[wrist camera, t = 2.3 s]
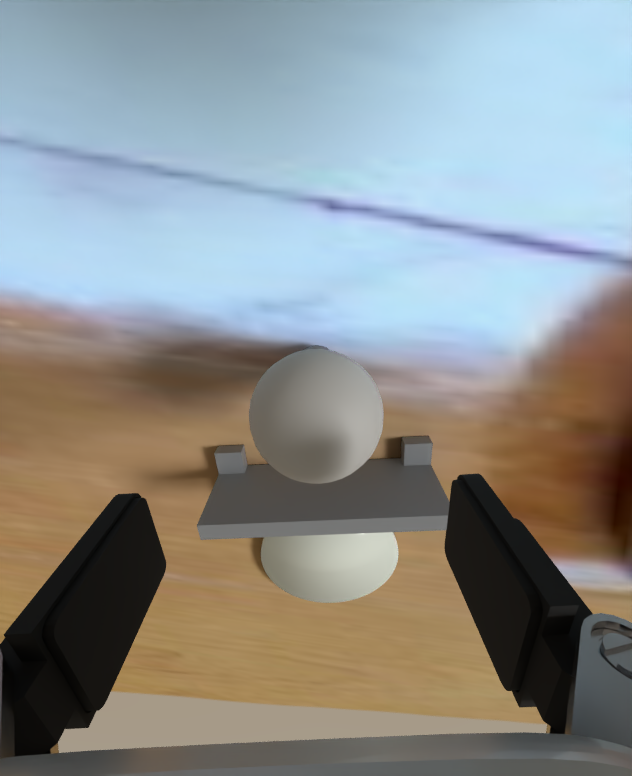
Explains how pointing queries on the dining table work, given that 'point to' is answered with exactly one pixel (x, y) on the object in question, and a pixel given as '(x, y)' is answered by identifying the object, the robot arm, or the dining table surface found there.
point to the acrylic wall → (325, 498)
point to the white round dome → (330, 564)
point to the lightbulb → (316, 416)
